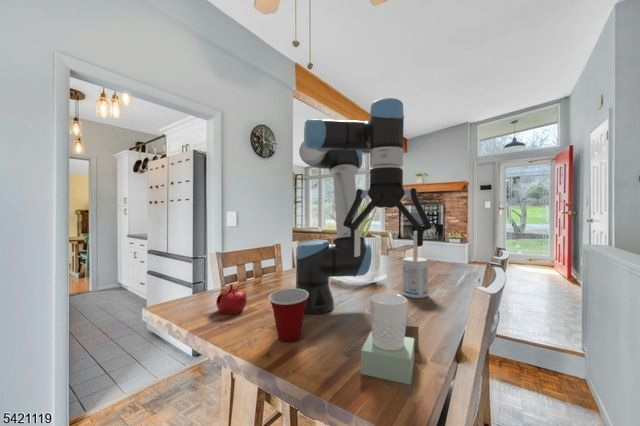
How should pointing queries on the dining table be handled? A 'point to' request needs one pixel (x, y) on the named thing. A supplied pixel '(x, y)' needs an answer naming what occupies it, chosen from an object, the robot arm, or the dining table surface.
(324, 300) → the robot arm
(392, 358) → the base block
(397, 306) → the white cup
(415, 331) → the walnut cube
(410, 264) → the supplement tub
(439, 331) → the dining table surface
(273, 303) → the plastic cup
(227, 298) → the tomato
